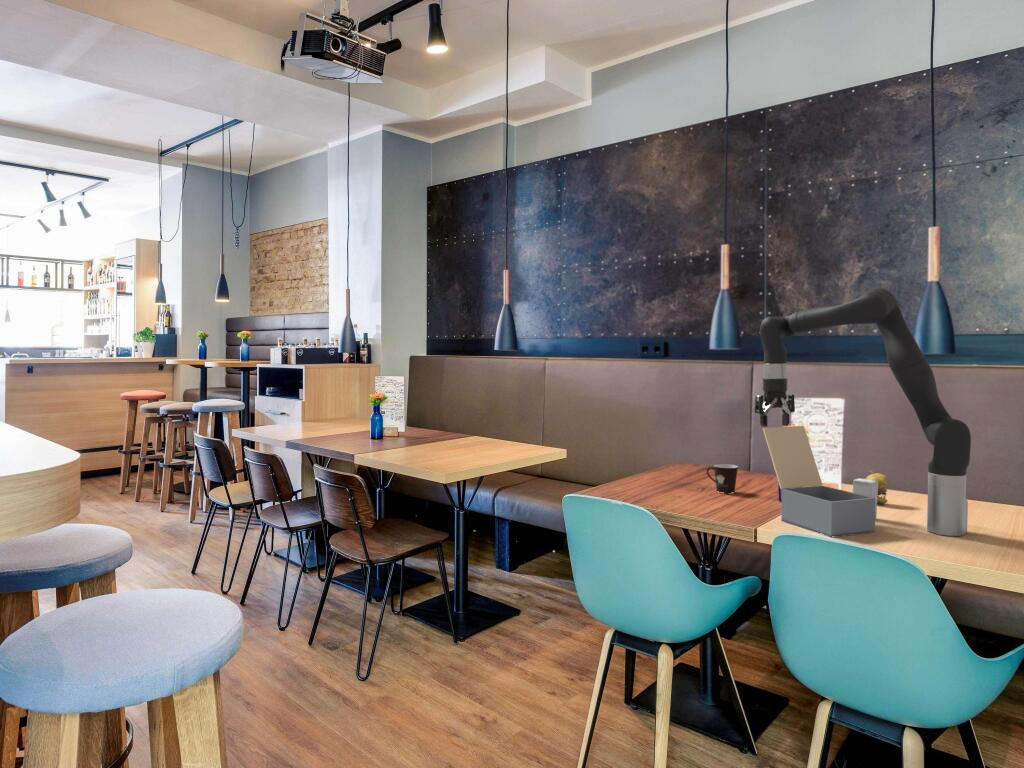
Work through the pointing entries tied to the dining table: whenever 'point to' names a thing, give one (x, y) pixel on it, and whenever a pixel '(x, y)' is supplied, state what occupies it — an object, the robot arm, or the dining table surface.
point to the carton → (828, 510)
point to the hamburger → (879, 485)
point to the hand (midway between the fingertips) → (774, 426)
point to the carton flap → (792, 457)
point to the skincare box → (866, 489)
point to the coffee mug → (724, 477)
